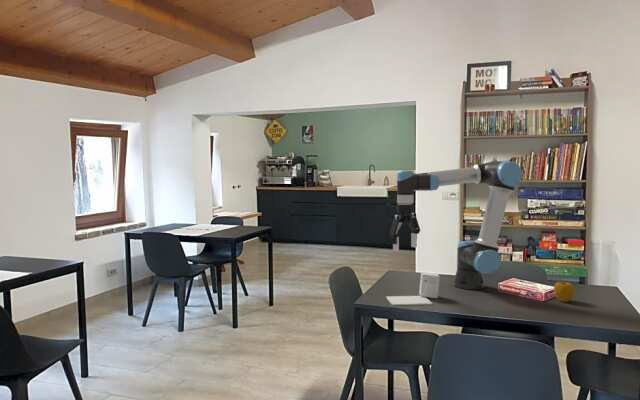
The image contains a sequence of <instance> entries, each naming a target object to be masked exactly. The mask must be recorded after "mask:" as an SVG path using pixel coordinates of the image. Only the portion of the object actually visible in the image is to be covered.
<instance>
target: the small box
mask: <svg viewBox="0 0 640 400" xmlns="http://www.w3.org/2000/svg"><path fill="white" fill-rule="evenodd" d="M440 279H441V278H440V275H439V274H438V273H434V272H426V271H425V272H424V271H422V272H421V273H420V281H419V291H418V294H419V296H421V297H426V298H431V299H438V298H439V297H438V296H439V289H440V288H439V287H440Z"/></svg>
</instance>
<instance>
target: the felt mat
mask: <svg viewBox="0 0 640 400" xmlns="http://www.w3.org/2000/svg"><path fill="white" fill-rule="evenodd" d="M385 298H386V299H387V300H388V302H389V304H391V305H392V306H420V305H421V306H427V305H429V306H430V305H433V302H431V300H429V299H428V297H421V296H420V295H398V296H397V295H392V296H388V295H387V296H385Z"/></svg>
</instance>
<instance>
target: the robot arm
mask: <svg viewBox="0 0 640 400" xmlns="http://www.w3.org/2000/svg"><path fill="white" fill-rule="evenodd" d="M414 172H415V171H413V170H399V171H398V172H397V175H396V193H397V195H396V196H397V197H396V203H397V205H396V213H397V212H398V214H394V215H393V220H392V224H391V227H390V231H389V236H390V237H391V238H392V251H393V252H400V251H399V250H400V242H399V240H400V239H399V238H400V237H399V234H400V232H401V230H402V228H403V226H405V225H406V224H407V225H408V227H409V229H410V231H411V234H410V237H411V238H410V239H411V241H410V243H411V244H410V246H411V248H415V249H416V248H418V234H420V232H421V228H420V225H419V221H418V217H417V213H415V212H414V204H413V203H415V201H414V198H415V196H414V192H419V191H421V192H423V191H424V192H425V191H426V192H427V191H437V190H438V189H439V187H444V186H452V185H453V186H455V185H462V184H469V183H470V184H471V183H474V184H475V185H480V184H485V185H486V184H487V186H488V188H489V195H488V199H487V203H486V206H485V211H484V215H483V220H482V224H481V225H480V226H481V227H480V230H479V235H478V238H477V239H476V240H469V241H467V240H466V241H465V240H464V241H459V242H457V248H456V249H457V254H456V255H457V256H456V257H457V258H456V259H457V261H456V263H457V264H456V266H457V267H456V272H455V275H454V278H453V280H452V281H453V282H452V285H453V286H454V287H456V288H458V289H463V290H482V289H484V288H485V281H484V277H483V274H491V273H493V272H495V271H496V270H497V269H498V268H499V267H500V264H501V257H500V254H499V250H500V247H499V244H498V240H499V235H500V232H501V227H502V224H503V219H504V215H505V212H506V208H507V204H508V200H509V198H510V197H509V196H510V195H511V194H512V193H514V192H515V191H514V190H515V187H516V186H518V184H520V183H521V180H522V178H523V171H522V169H521V167H520V166H519V164H517V162H514V161H511V160H502V161H501V160H494V161H489V162H485V163H480V164H474V165H473V166H472V167H463V168H455V169H445V170H438V171H436V170H435V171H430V172H421V173H420V172H419V173H414Z"/></svg>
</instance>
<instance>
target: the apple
mask: <svg viewBox="0 0 640 400" xmlns="http://www.w3.org/2000/svg"><path fill="white" fill-rule="evenodd" d="M553 292H554V295H555V297H556V299H557V300H558V301H559V302H561V301H562V302H561V303H563V302H564V303H568V302H570V301H571V300H572V299H573V297H574V295H575V293H576V288H575V286H574V285H573V284H572V283H570V282H565V281H557V282H556V283H555V284H554V286H553Z"/></svg>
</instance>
